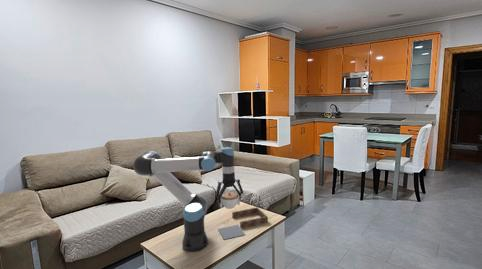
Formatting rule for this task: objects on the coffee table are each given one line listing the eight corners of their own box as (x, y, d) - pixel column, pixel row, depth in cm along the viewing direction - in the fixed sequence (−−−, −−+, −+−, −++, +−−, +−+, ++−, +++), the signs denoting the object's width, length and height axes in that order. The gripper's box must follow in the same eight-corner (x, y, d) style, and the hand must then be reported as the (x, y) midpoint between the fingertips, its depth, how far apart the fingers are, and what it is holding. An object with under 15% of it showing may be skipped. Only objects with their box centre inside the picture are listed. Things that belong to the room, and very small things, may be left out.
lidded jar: (238, 210, 165) (237, 195, 164) (220, 210, 165) (220, 195, 164) (238, 203, 175) (238, 189, 174) (222, 203, 176) (221, 189, 174)
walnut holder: (240, 228, 177) (240, 222, 177) (232, 217, 194) (232, 212, 193) (267, 222, 184) (267, 216, 184) (257, 212, 200) (257, 207, 200)
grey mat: (223, 239, 164) (223, 239, 164) (217, 229, 177) (217, 228, 177) (245, 235, 169) (245, 234, 169) (237, 225, 182) (237, 224, 182)
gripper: (211, 176, 160) (213, 211, 163) (248, 171, 168) (249, 205, 171) (208, 173, 166) (210, 207, 170) (243, 168, 174) (244, 200, 178)
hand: (229, 206), depth 170 cm, fingers closed on lidded jar, 11 cm apart
